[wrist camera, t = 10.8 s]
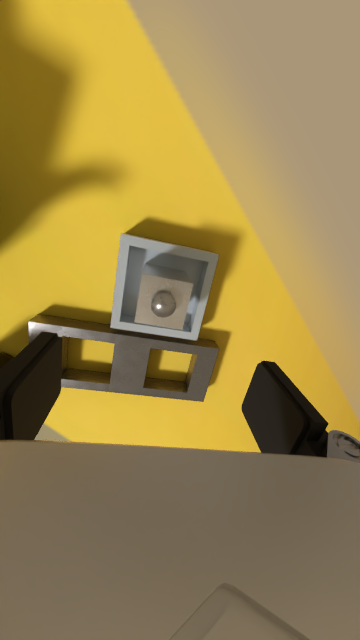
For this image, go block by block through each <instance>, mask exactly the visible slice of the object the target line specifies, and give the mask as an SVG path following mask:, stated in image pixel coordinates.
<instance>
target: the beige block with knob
mask: <svg viewBox="0 0 360 640" xmlns="http://www.w3.org/2000/svg"><path fill="white" fill-rule="evenodd" d="M192 288H193V282H192V281H191V279H190V278H189V276H188V275H187V273H186V272H185V271H181V270H177V269H172V268H167V267H162V266H157V265H152V264H147V263H145V266H144V269H143V272H142V277H141V284H140V290H139V296H138V303H137V309H136V315H135V322H136V323H142V324H148V325H155V326H161V327H167V328H173V329H180V330H183V325H184V321H185V317H186V313H187V309H188V304H189V300H190V296H191V292H192Z"/></svg>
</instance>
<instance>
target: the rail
mask: <svg viewBox="0 0 360 640" xmlns="http://www.w3.org/2000/svg"><path fill="white" fill-rule="evenodd" d="M28 323H29V344H30V343H31V342H32V341H33V340H34V339H35V338H36V337H37V336H38V335H39V334H40V333H41V332H43V331H44V332H51V333H57V334H58V337H62V374H61V387H67V388H76V389H86V390H96V391H105V392H115V393H124V394H134V395H144V396H153V397H163V398H173V399H182V400H192V401H201V402H203V401H204V398H205V395H206V391H207V388H208V385H209V381H210V378H211V375H212V372H213V368H214V365H215V362H216V358H217V355H218V352H219V348H218V346H217V344H216V342H215V341H213V340H206V339H200V338H197V341H196V340H189V339H183V338H176V337H169V336H163V335H156V334H149V333H142V332H136V331H129V330H122V329H116V328H110V326H111V325H107V324H100V323H93V322H87V321H80V320H73V319H67V318H60V317H54V316H47V315H40V314H38V315H37V316H35V317H34V318H33V319H31V320H30V321H28ZM69 337H73V338H81V339H88V340H95V341H102V342H109V343H115V345H114V353H113V361H112V370H111V373H103V372H95V371H86V370H78V369H69V368H67V360H68V338H69ZM150 348H153V349H160V350H167V351H174V352H182V353H189V354H192V357H191V361H190V365H189V369H188V373H187V377H186V380H185V382H180V381H172V380H163V379H154V378H146V377H145V375H146V370H147V364H148V359H149V353H150Z"/></svg>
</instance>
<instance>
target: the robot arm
mask: <svg viewBox="0 0 360 640" xmlns="http://www.w3.org/2000/svg"><path fill="white" fill-rule="evenodd" d="M61 374H62V337H58V334H57V333H51V332H44V331H43V332H41V333H40V334H39V335H38V336H37V337H36V338H35V339H34V340H33V341H32V342H31V343H30V344H29V345H27V346H26V347H25V348H24V349H23V350H22V351H21V352H20V353H19V354H18V355H17V356H16V357H15V358H14V359H11V360H9V361H8V362H7V363H6V364H5V365H4V366H3V367H1V368H0V640H360V442H359V441H358V440H357V439H355V438H354V437H352V436H350V435H349V434H346V433H344V432H341V431H337V430H332V431H330V432H329V433H328V432H327V431H326V430H325V429H326V427H327V425H328V423H327V421H326V420H325V419H324V418H323V417H322V416H321V415H320V413H319V412H318V411H317V410H316V409H315V408H314V407H313V405H312V404H311V403H310V402H309V401H308V400H307V399H306V397H305V396H304V395H303V394H302V393H301V392H300V391H299V389H298V388H297V387H296V386H295V385H294V384H293V383H292V381H291V380H290V379H289V378H288V377H287V376H286V374H285V373H284V372H283V371H282V370H281V369H280V368H279V366H278V365H277V364H276V363H275V362H269V361H262V362H261V363H259V364H258V365H257V367H256V370H255V372H254V375H253V377H252V380H251V383H250V385H249V388H248V391H247V393H246V396H245V398H244V401H243V404H242V412H243V414H244V417H245V419H246V421H247V423H248V425H249V427H250V429H251V432H252V434H253V436H254V438H255V440H256V442H257V444H258V446H259V449H260V451H261V453H258V452H242V451H227V450H210V449H194V448H177V447H160V446H142V445H123V444H104V443H85V442H67V441H46V440H45V441H44V440H34V439H35V437H36V435H37V434H38V432H39V430H40V428H41V426H42V425H43V423H44V421H45V419H46V418H47V416H48V414H49V412H50V410H51V409H52V407H53V405H54V403H55V402H56V400H57V398H58V396H59V394H60V391H61Z"/></svg>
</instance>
